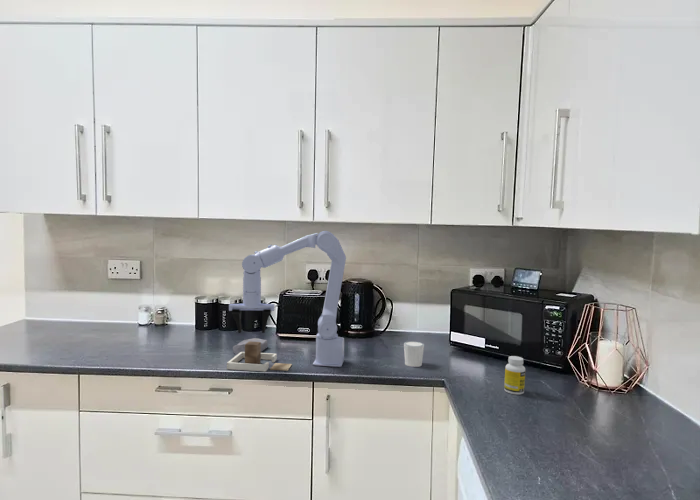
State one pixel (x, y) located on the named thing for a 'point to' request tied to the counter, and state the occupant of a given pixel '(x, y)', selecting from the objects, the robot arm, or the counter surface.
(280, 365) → the cork trivet
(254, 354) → the walnut block
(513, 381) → the supplement bottle
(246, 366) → the white open square frame
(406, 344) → the shot glass
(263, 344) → the stone block
